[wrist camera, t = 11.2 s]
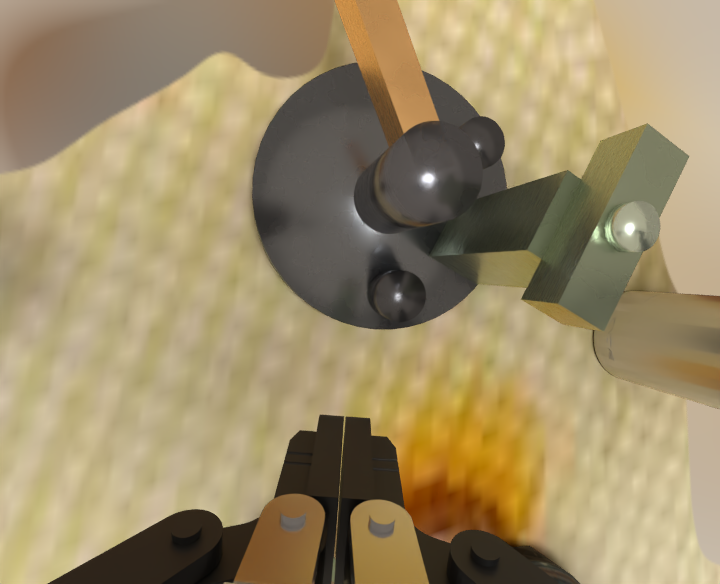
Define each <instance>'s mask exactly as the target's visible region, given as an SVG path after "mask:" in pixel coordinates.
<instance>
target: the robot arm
mask: <svg viewBox="0 0 720 584" xmlns="http://www.w3.org/2000/svg"><path fill="white" fill-rule="evenodd" d="M594 347H595V351H596V355H597V357H598V359H599V362H600V363H601V365H602V366H603V367H604V369H605V370H606V371H608V372H609V373H610V374H611V375H613V376H615V377H617V378H620V379H623V380H626V381H630V382H633V383H636V384H639V385H643V386H646V387H649V388H652V389H655V390H658V391H662V392H665V393H668V394H671V395H675V396H678V397H681V398H684V399H688V400H692V401H695V402H697V403H701V404H704V405H707V406H710V407H714V408H717V409H720V296H709V295H693V294H678V293H664V292H647V291H628V292H623V294H622V296H621V298H620V300H619V302H618V304H617V306H616V308H615V310H614V312H613V314H612V316H611V318H610V320H609V322H608V324H607V326H606V328H605V330H604V332H602V331H597V330H595V331H594ZM343 422H344V416H331V415H320V416H319V421H318V427H317V432H313V431H299V432H298V433H297V434H296V435H295V436H294V437H293V438H292V439H291V440H290V442H289V446H288V449H287V454H286V457H285V460H284V464H283V467H282V471H281V475H280V478H279V482H278V486H277V489H276V493H275V497H274V499H273V500H271V501H270V502H269V503H268V504H267V505H266V506H265V507H264V509H263V511H262V513H261V515H260V517H259V518H257V519H255V520H253V521H251V522H248V523H245V524H241V525H236V526H231V527H225V528H223V526H222V522H221V521H220V519H219V518H218V517H217V516H216V515H215V514H213V513H211V512H209V511H205V510H198V509H194V510H185V511H181V512H178V513H175V514H173V515H171V516H169V517H167V518H165V519H163V520H162V521H160V522H158V523H156V524H154V525H153V526H151V527H149V528H147V529H145V530H144V531H142V532H140V533H138V534H136V535H135V536H133V537H131V538H129V539H127V540H126V541H124V542H122V543H120V544H118V545H117V546H115V547H113V548H111V549H109V550H108V551H106V552H104V553H102V554H100V555H98V556H97V557H95V558H93V559H91V560H89V561H88V562H86V563H84V564H82V565H80V566H79V567H77V568H75V569H73V570H71V571H70V572H68V573H66V574H64V575H62V576H61V577H59V578H57V579H55V580H53V581H52V582H50V583H48V584H331V581H332V570H333V558H334V547H335V535H336V524H337V512H338V501H339V512H338V529H337V545H336V562H335V578H334V584H560V583H558V582H557V581H556V580H554V579H553V578H552V577H551V576H549V575H548V574H547V573H545V572H544V571H543V570H541V569H540V568H539V567H537V566H536V565H535V564H533V563H532V562H531V561H529V560H528V559H527V558H526V557H524V556H523V555H522V554H520V553H519V552H518V551H516V550H515V549H514V548H512V547H511V546H510V545H508V544H507V543H506V542H504V541H503V540H502V539H500V538H499V537H497V536H495V535H493V534H490V533H488V532H484V531H479V530H466V531H463V532H460V533H458V534H457V535H456V536H455V537H454V538H453V539H452V541H451V543H448V542H445V541H442V540H439V539H436V538H433V537H430V536H428V535H426V534H424V533H423V532H421V531H420V530H418V529H417V528H416V527H415V526H414V525H413V521H412V519H411V517H410V515H409V514H408V513H407V511H406V510H405V508H404V501H403V494H402V487H401V481H400V474H399V467H398V462H397V454H396V448H395V446H394V445H393V444H392V443H391V441H390V440H389V439H388V438H387V437H381V436H371V424H370V418H359V417H346V421H345V432H344V444H343V455H342V467H341V454H342V438H343ZM340 470H341V480H340ZM339 486H340V496H339Z"/></svg>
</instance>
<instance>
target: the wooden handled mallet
mask: <svg viewBox="0 0 720 584" xmlns="http://www.w3.org/2000/svg"><path fill="white" fill-rule="evenodd" d="M335 3H336V6H337V8H338V11H339V14H340V17H341V19H342V22H343V25H344V27H345V30H346V33H347V35H348V38H349V41H350V43H351V46H352V49H353V52H354V54H355V57H356V60H357V62H358V65H359V68H360V70H361V73H362V76H363V79H364V81H365V84H366V87H367V89H368V92H369V95H370V97H371V100H372V103H373V105H374V108H375V111H376V114H377V116H378V119H379V122H380V124H381V127H382V130H383V132H384V135H385V138H386V140H387V143H388V146H389V148H388V149H387V150H386V151H385V152H384V153H382V154H381V155H380V156H379V157H378V158H377V159H376V160H375V161H374V162H373V163H372V164H371V165H369V166H368V167H367V168H366V169H365V170H364V171H363V172H362V173H361V175H360V176H359V178H358V180H357V182H356V185H355V189H354V203H355V207H356V211H357V213H358V215H359V216H360V218H361V219H362V221H363V222H364V223H365V224H366V225H367V226H368V227H370V228H371V229H373V230H375V231H377V232H380V233H384V234H396V233H400V232H404V231H408V230H412V229H416V228H420V227H424V226H428V225H432V224H436V223H440V222H444V221H449V220H452V219H455V218H457V217H459V216H460V215H462V214H463V213H465V212H466V211H467V210H468V209H469V208H470V207H471V206H472V205H473V203H474V202H475V200H476V199H477V196H478V194H479V192H480V189H481V185H482V180H483V167H482V161H481V157H480V154H479V152H478V149H477V147H476V146H475V144H474V142H473V141H472V140H471V138H470V137H469V136H468V135H467V134H466V133H465V132H464V131H462V130H461V129H460V128H458V127H457V126H455V125H452V124H450V123H447V122H443V121H439V119H438V116H437V113H436V110H435V107H434V104H433V102H432V99H431V96H430V93H429V90H428V87H427V84H426V82H425V79H424V76H423V73H422V70H421V67H420V65H419V62H418V59H417V56H416V53H415V50H414V48H413V45H412V42H411V39H410V36H409V33H408V30H407V28H406V25H405V22H404V19H403V16H402V13H401V11H400V8H399V5H398V2H397V0H335Z"/></svg>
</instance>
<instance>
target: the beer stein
mask: <svg viewBox="0 0 720 584" xmlns="http://www.w3.org/2000/svg"><path fill="white" fill-rule="evenodd" d="M512 548H514V549H515V550H516V551H518V552H519V553H520V554H522V555H523V556H524V557H526V558H527V559H528V560H529V561H531V562H532V563H533V564H535V565H536V566H537V567H539V568H540V569H541V570H543V571H544V572H545V573H547V574H548V575H549V576H551V577H552V578H553V579H554V580H556V581H557V582H558V583H560V584H580V583H579V582H578V581H577V580H576V579H575V578H574V577H573V576H572V575H571V574H569V573H568V572H567V571H565V570H564V569H562V568H561V567H559V566H558V565H556V564H555V563H553V562H552V561H550V560H549V559H548V558H546V557H545V556H543V555H542V554H540V553H539V552H538V551H536V550H535V549H533V548H532V547H530V546H521V547H512Z"/></svg>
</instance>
